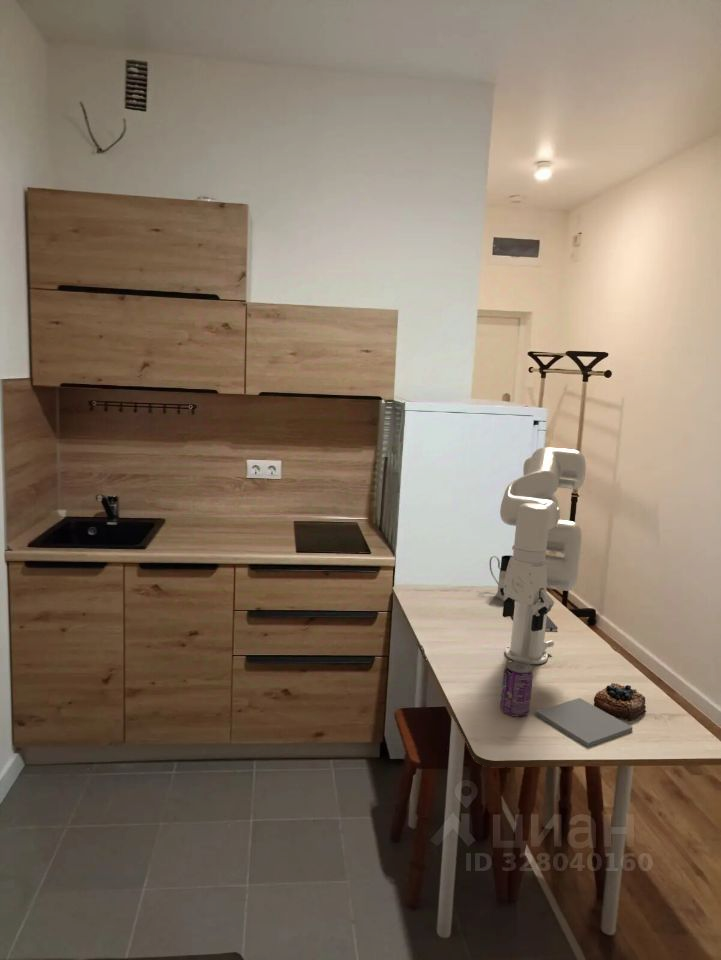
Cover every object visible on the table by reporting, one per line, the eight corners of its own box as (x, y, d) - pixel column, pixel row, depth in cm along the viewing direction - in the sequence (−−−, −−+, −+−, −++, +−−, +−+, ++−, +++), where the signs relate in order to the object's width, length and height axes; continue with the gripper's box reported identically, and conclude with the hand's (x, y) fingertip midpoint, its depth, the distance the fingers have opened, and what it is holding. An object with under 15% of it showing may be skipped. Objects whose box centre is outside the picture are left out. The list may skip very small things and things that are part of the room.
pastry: (650, 710, 175) (653, 689, 174) (629, 725, 166) (632, 703, 165) (609, 694, 182) (612, 673, 182) (588, 707, 174) (590, 686, 173)
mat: (579, 701, 177) (579, 697, 176) (632, 731, 163) (632, 727, 163) (535, 714, 168) (536, 711, 168) (587, 747, 155) (588, 743, 155)
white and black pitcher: (510, 601, 251) (514, 562, 249) (480, 590, 262) (483, 553, 259) (524, 597, 257) (528, 559, 255) (494, 587, 268) (497, 550, 265)
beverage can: (508, 701, 174) (512, 657, 172) (533, 711, 170) (538, 666, 168) (494, 711, 169) (499, 665, 167) (520, 721, 164) (526, 675, 162)
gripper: (492, 547, 167) (486, 613, 170) (545, 567, 153) (537, 638, 156) (515, 544, 171) (508, 609, 174) (568, 563, 157) (559, 633, 159)
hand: (521, 623), depth 165 cm, fingers open, 9 cm apart
